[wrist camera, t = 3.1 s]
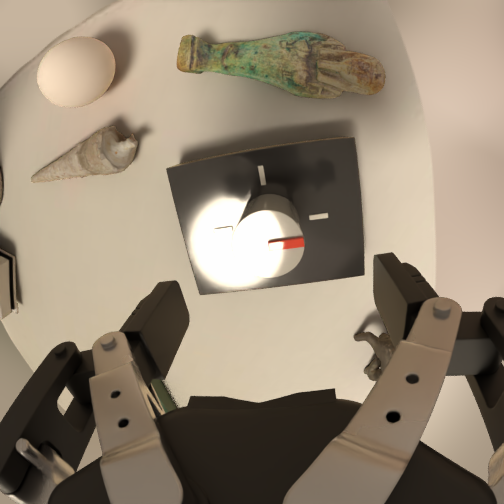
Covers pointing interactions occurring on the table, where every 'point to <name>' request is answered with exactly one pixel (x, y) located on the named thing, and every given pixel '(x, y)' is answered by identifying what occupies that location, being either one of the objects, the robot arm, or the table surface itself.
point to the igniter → (163, 395)
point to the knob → (268, 237)
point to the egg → (76, 72)
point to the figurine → (288, 63)
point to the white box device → (7, 284)
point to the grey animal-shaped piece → (377, 352)
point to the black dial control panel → (280, 183)
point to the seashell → (92, 157)
